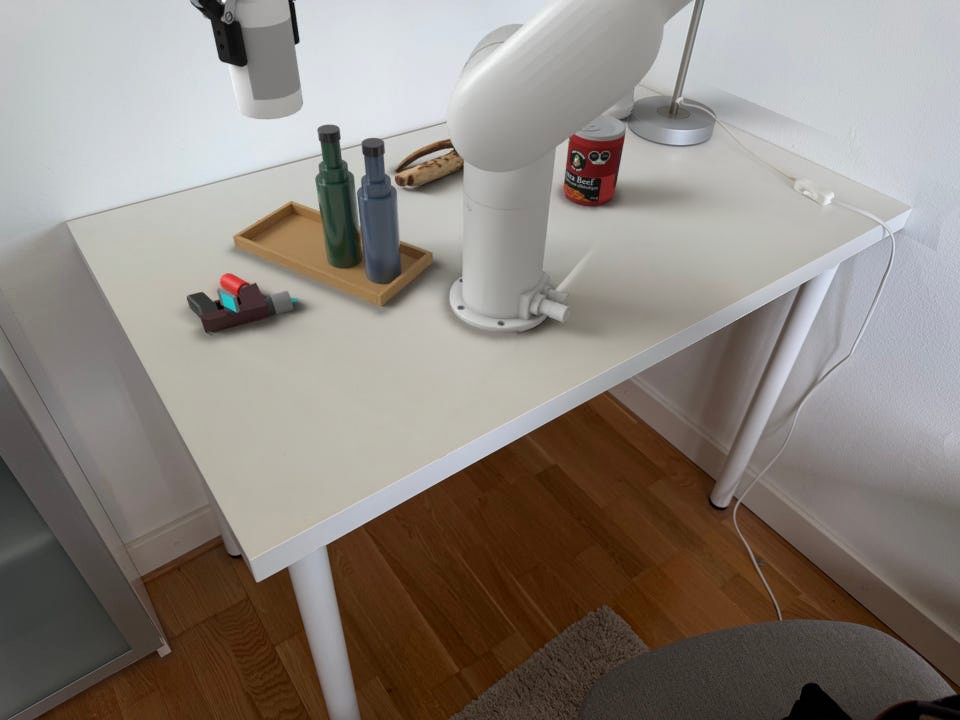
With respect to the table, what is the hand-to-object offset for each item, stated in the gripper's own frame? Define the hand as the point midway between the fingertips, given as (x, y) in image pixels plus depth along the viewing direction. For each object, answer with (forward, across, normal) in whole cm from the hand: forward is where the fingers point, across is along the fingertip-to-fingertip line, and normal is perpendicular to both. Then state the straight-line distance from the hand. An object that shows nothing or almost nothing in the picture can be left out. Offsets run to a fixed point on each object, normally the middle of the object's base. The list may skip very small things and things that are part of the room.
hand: (260, 50), depth 69 cm
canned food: (+28, +40, -23) cm, 54 cm away
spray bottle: (+6, 0, 0) cm, 6 cm away
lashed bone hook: (+28, +33, +1) cm, 43 cm away
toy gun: (+28, -8, +2) cm, 29 cm away
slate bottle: (+27, +5, -9) cm, 29 cm away
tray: (+28, +6, -1) cm, 28 cm away
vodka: (+28, +71, -14) cm, 77 cm away
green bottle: (+27, +6, -3) cm, 28 cm away
